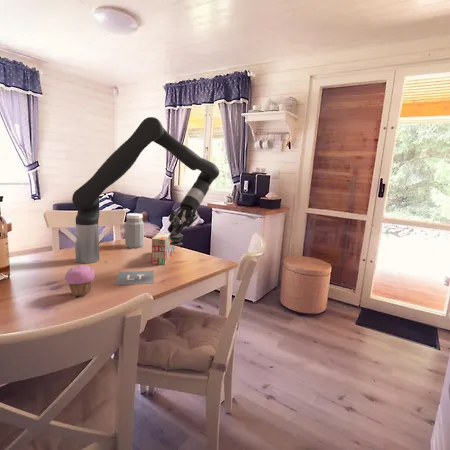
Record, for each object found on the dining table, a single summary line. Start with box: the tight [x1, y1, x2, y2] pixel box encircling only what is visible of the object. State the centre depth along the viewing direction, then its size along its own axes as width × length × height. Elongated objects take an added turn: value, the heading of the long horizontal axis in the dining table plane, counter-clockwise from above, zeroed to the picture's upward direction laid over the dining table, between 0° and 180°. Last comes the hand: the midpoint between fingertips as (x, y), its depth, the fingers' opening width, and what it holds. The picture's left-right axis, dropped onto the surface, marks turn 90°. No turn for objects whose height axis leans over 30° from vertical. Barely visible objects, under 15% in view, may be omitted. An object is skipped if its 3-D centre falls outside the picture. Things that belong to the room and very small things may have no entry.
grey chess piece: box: [169, 216, 184, 246], centre depth 120 cm, size 6×6×12 cm
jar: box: [124, 212, 145, 249], centre depth 159 cm, size 10×10×18 cm
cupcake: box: [64, 264, 96, 297], centre depth 97 cm, size 9×9×10 cm
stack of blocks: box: [151, 232, 175, 266], centre depth 142 cm, size 21×6×12 cm, turn 179°
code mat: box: [114, 270, 155, 286], centre depth 115 cm, size 14×14×1 cm
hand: (173, 232), depth 118 cm, fingers closed on grey chess piece, 3 cm apart
